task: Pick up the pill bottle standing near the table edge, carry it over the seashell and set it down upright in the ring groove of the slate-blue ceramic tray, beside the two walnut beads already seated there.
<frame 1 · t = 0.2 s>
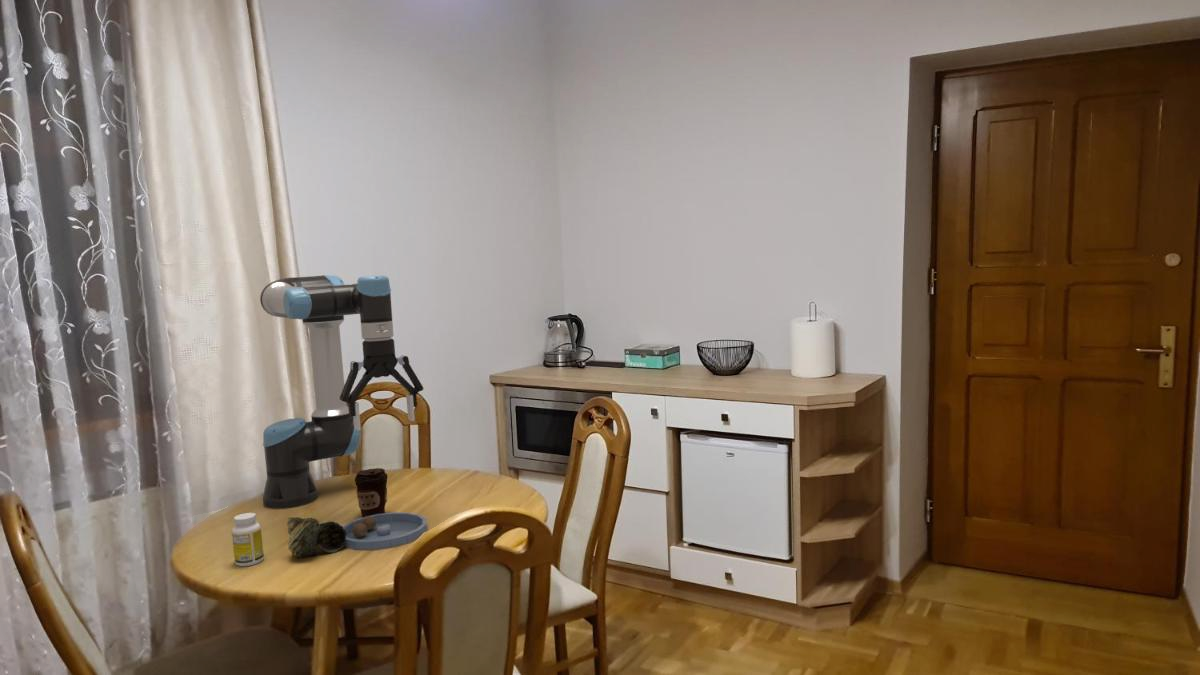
hand: (385, 424, 196), 28 cm above the table, fingers open, 13 cm apart
walnut bead a: (369, 530, 200), point 1 cm above the table, touching ring tray
ring tray: (384, 537, 197), on the table
pill bottle: (249, 562, 185), on the table
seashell: (316, 558, 186), on the table, touching ring tray
walnut bead b: (360, 537, 195), point 1 cm above the table, touching ring tray
coffee cup: (374, 519, 212), on the table
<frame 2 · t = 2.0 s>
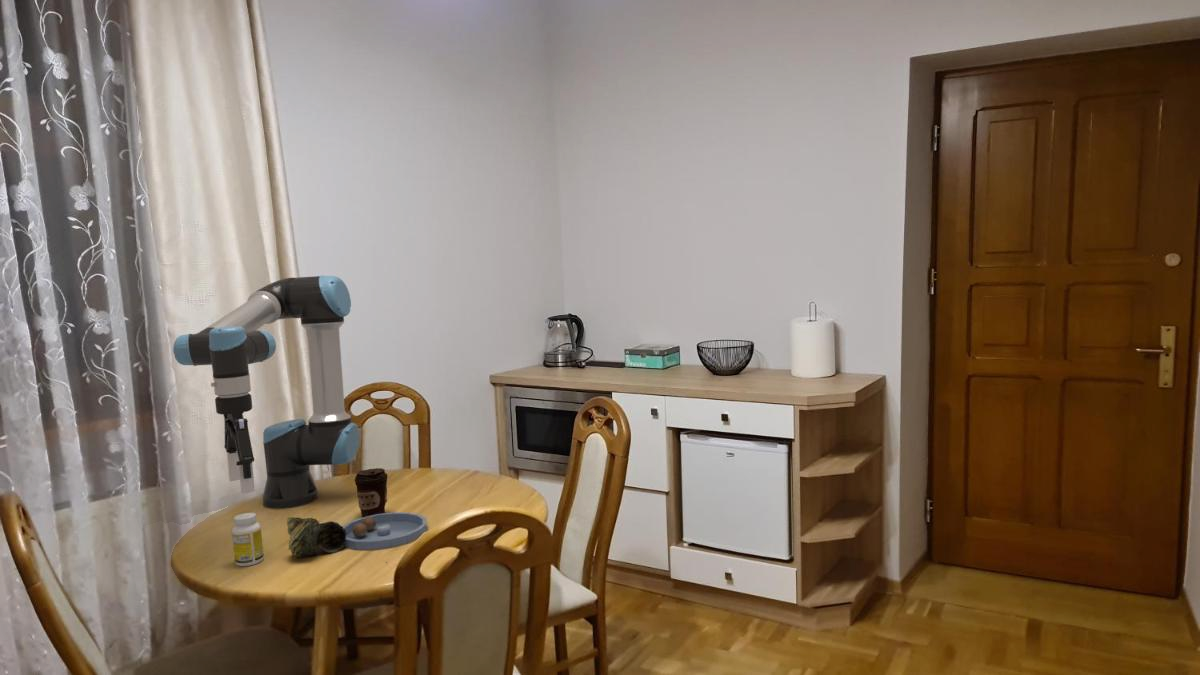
hand: (241, 486, 183), 18 cm above the table, fingers open, 13 cm apart
nothing on the table moved.
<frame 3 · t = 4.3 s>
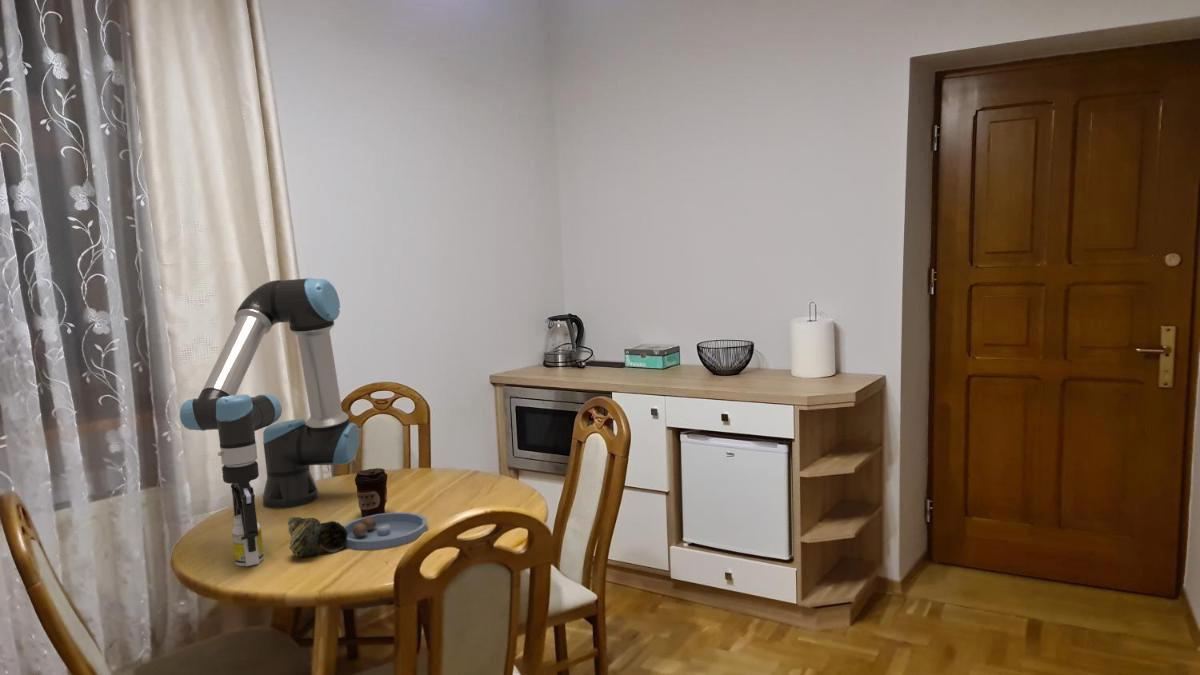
hand: (249, 559, 185), 0 cm above the table, fingers closed on pill bottle, 6 cm apart
pill bottle: (249, 562, 185), on the table, touching gripper
everything else where it was.
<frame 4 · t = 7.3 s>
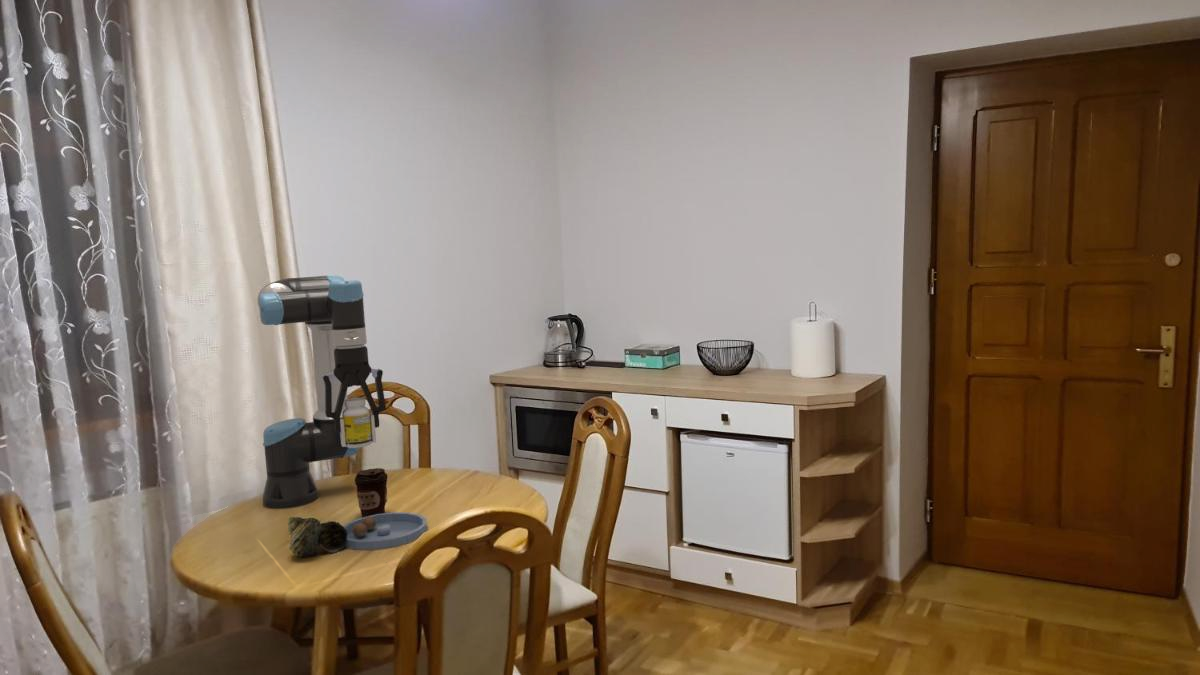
hand: (358, 443, 188), 25 cm above the table, fingers closed on pill bottle, 6 cm apart
pill bottle: (358, 446, 188), point 25 cm above the table, touching gripper
everything else where it was.
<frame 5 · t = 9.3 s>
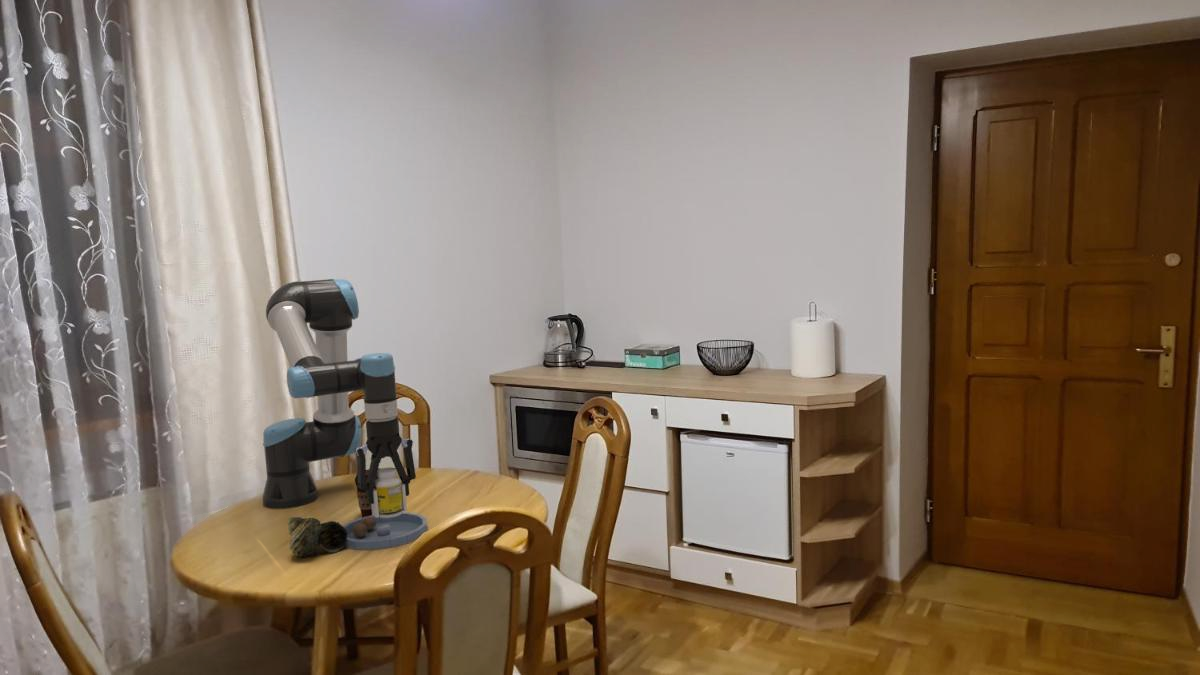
hand: (389, 512, 192), 8 cm above the table, fingers closed on pill bottle, 6 cm apart
pill bottle: (390, 515, 192), point 7 cm above the table, touching gripper
everything else where it was.
when the fingers open (2 cm above the table, at t = 10.8 s): pill bottle drops 1 cm, resting on ring tray.
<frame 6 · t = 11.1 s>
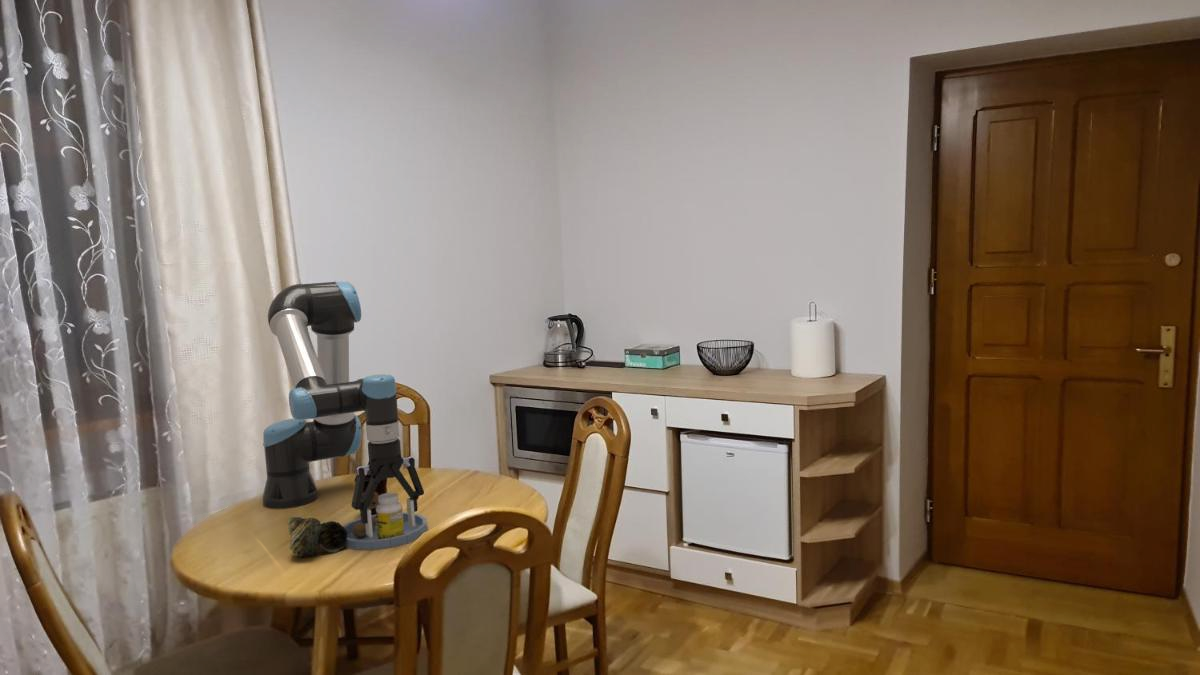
hand: (391, 530, 192), 3 cm above the table, fingers open, 10 cm apart
pill bottle: (391, 540, 192), point 1 cm above the table, touching ring tray
everything else where it was.
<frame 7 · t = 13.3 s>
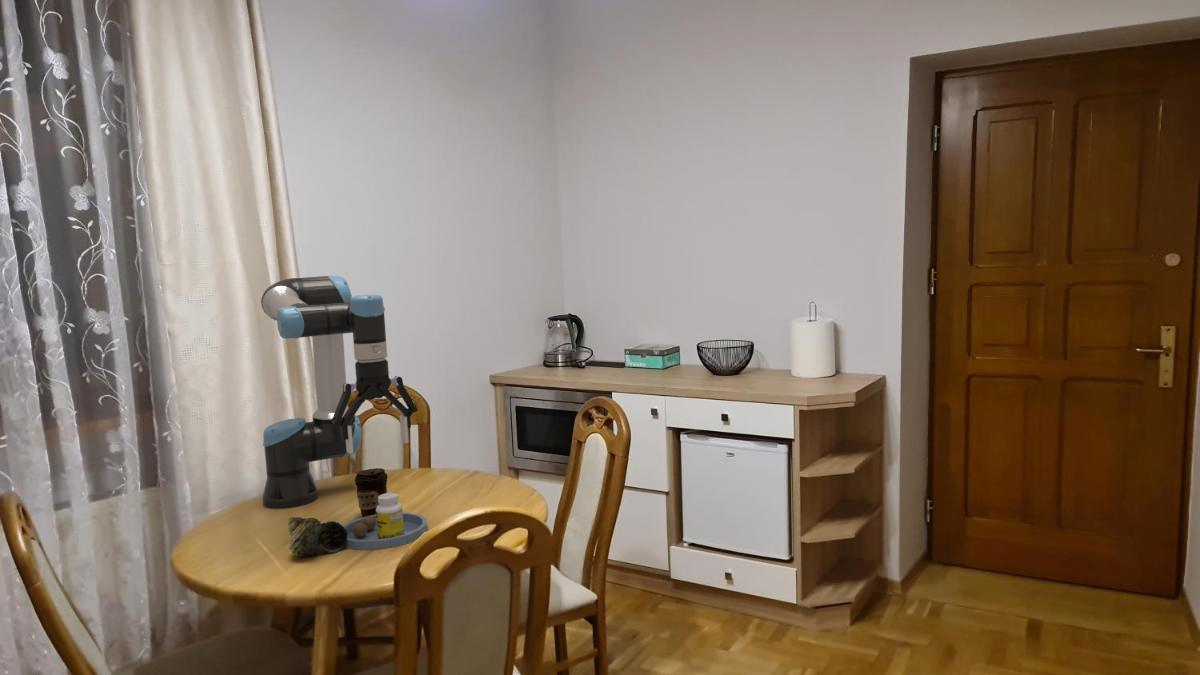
hand: (378, 447, 192), 23 cm above the table, fingers open, 13 cm apart
nothing on the table moved.
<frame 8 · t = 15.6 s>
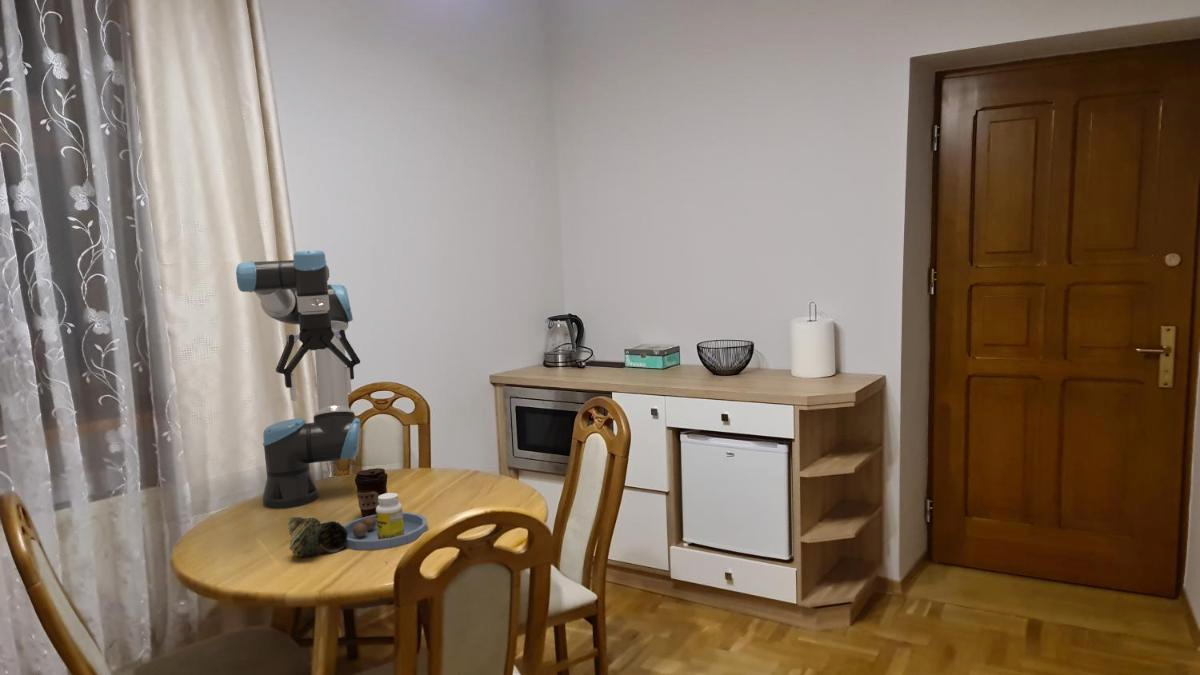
hand: (321, 396, 201), 35 cm above the table, fingers open, 13 cm apart
nothing on the table moved.
at the end: pill bottle 5.5 cm from the ring tray (horizontally); pill bottle point 0.6 cm above the table; pill bottle tilted 0° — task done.
